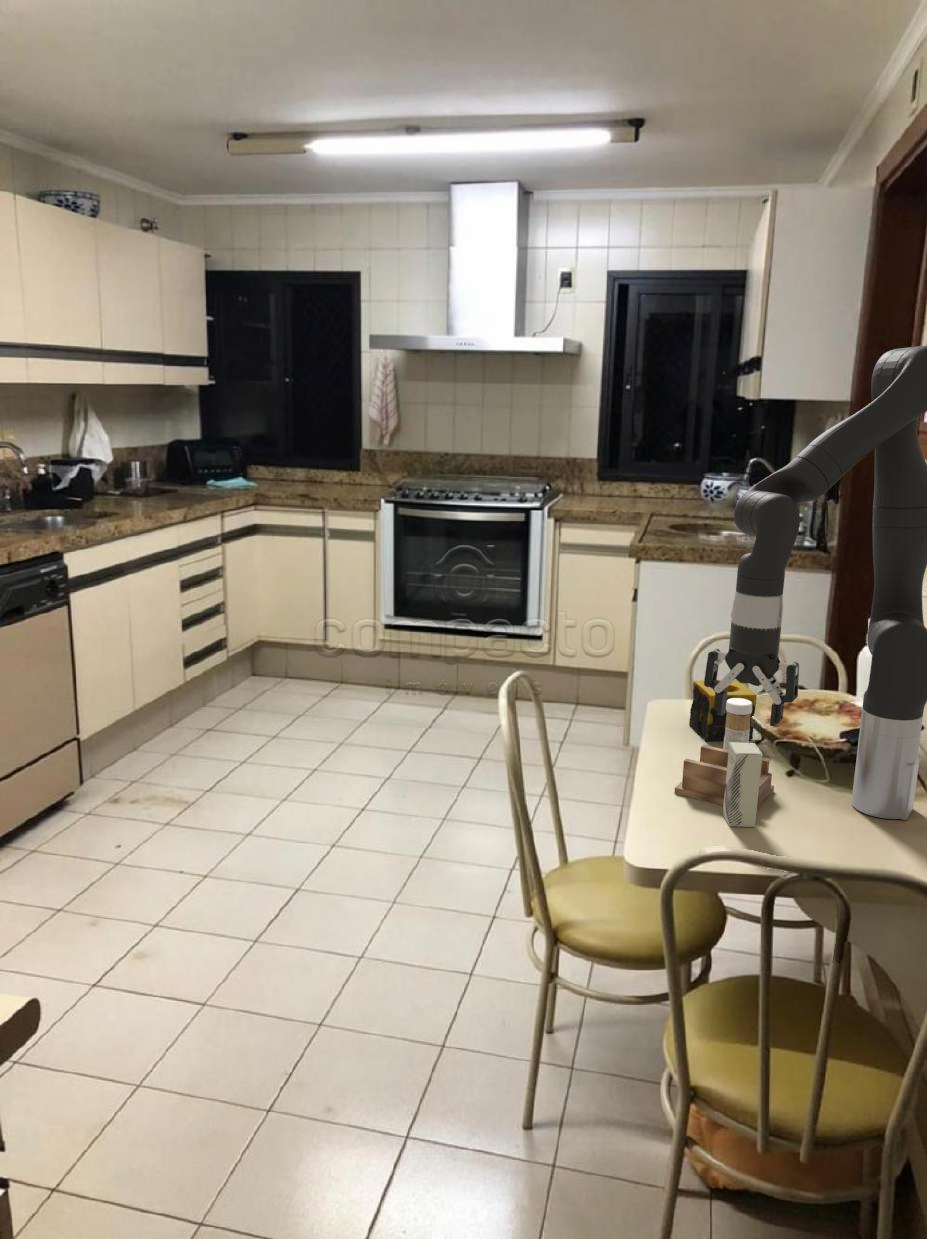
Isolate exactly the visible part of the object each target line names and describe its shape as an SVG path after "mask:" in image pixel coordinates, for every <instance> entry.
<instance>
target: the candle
mask: <svg viewBox="0 0 927 1239" xmlns="http://www.w3.org/2000/svg"><path fill="white" fill-rule="evenodd" d="M717 680H718V681H721V680H722V679H721V680H719V679H717ZM726 691H728V692H727V700H728V699H731V698H742V699H747V700H749V701H751V702H752V713H751V715H750V733H749V741H752V740H753V738H754V737H753V735H754V724H753V725H752V723H751V717H752V716H754V717H755V713H756V707H757V696H758V695H757V693H755V692H754V691H753V690H751V689H750V688H749V687H748V686H746V685H744V683H739V681H738V680H736V679H735V680H734V681H733V682H732V683H731V684H730V685H729V686H728V687H727V688H726ZM692 696H693V697H692V702H691V706H690V711H689V712H690V713H689V714H690V715H689V720H688V721H689V722H688V725H689V726H690V728H692V730H694V731H695V733H697V735H699V736H700V737H701V738H702V739H703V740H704V741H705V742H710V743H711V742H724V737H725V727H726V715H727V712H725V714H723V715H722V716H721V715H717V711H715V709H714V703H715V691H714V690H713V689H712V688H710V687H706V686H705V685H704V679H703V680H693V682H692ZM726 711H727V710H726Z"/></svg>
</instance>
